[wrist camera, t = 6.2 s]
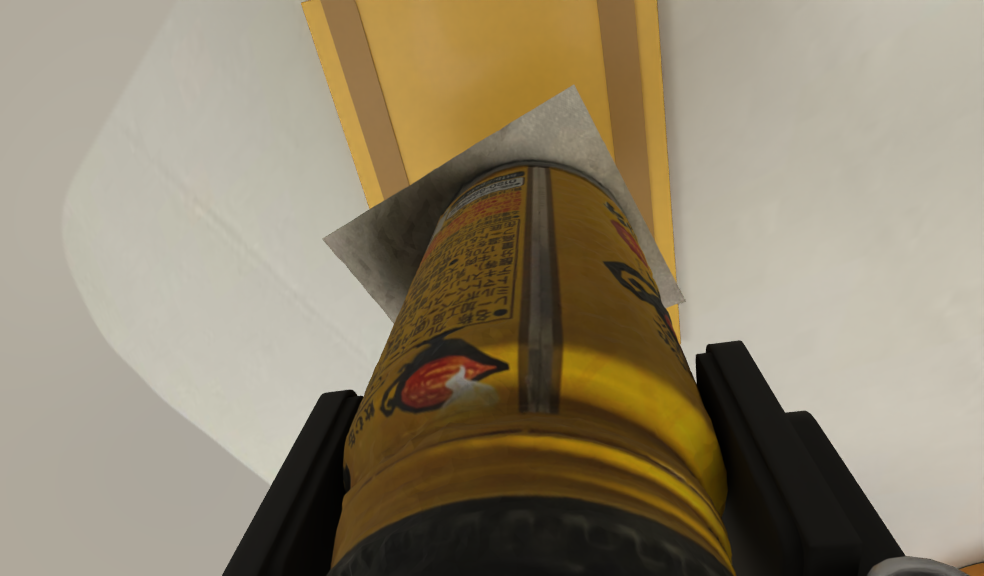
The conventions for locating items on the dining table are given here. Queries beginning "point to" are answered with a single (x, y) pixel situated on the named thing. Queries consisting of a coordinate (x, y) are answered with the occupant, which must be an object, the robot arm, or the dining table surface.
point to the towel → (494, 85)
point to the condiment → (526, 375)
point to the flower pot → (974, 570)
